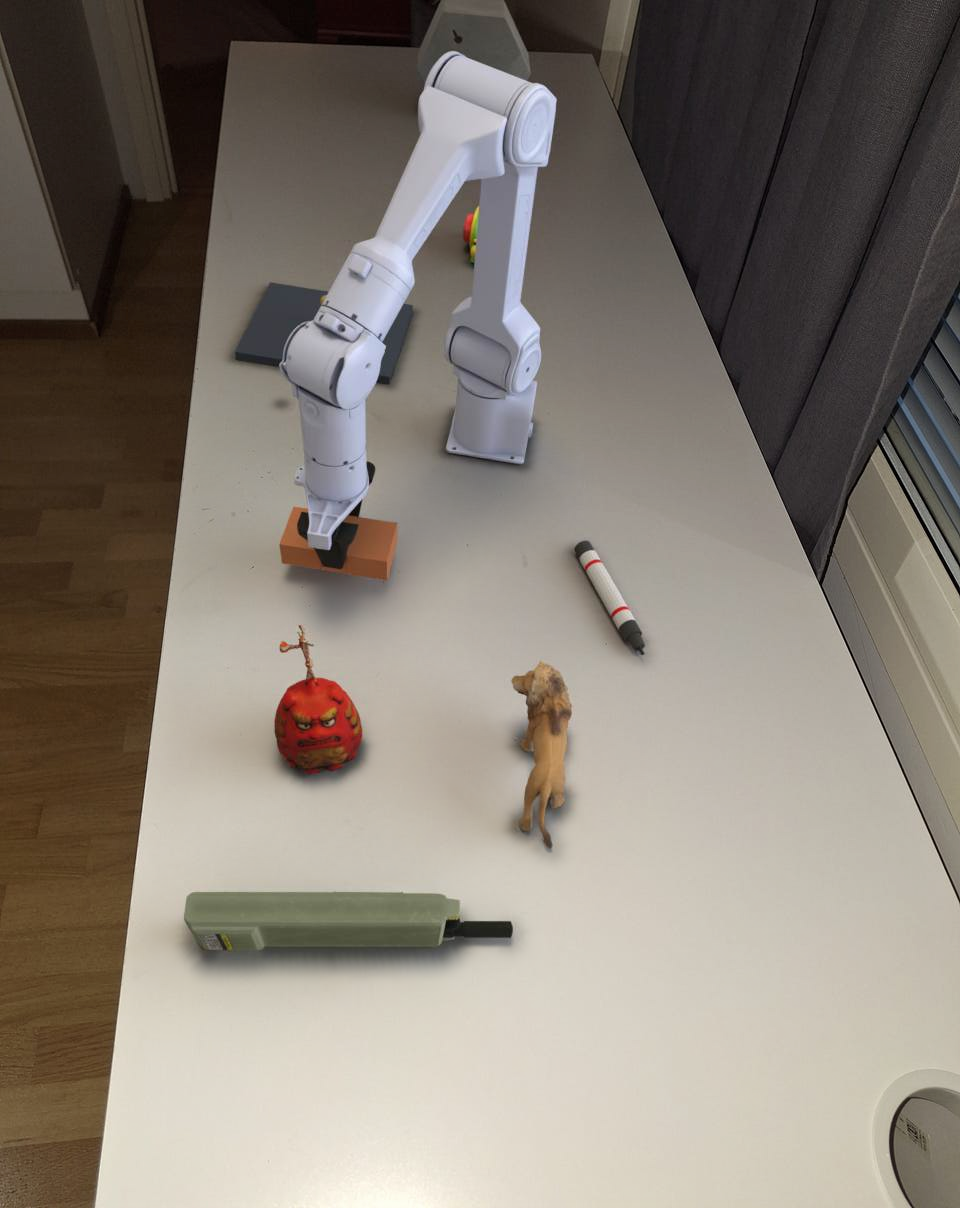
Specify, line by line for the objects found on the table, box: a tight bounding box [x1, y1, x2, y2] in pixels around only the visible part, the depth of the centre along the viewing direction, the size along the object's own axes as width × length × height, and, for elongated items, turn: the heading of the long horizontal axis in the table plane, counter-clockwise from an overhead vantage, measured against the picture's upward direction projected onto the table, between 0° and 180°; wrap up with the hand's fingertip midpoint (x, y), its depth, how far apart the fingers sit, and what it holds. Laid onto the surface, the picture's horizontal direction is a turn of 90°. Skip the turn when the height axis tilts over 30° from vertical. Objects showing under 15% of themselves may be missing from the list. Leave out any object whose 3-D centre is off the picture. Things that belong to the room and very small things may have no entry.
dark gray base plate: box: [234, 282, 414, 385], centre depth 118 cm, size 20×16×6 cm
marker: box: [573, 540, 646, 656], centre depth 95 cm, size 15×2×2 cm, turn 21°
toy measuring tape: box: [462, 205, 479, 264], centre depth 136 cm, size 6×19×7 cm, turn 166°
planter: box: [416, 0, 532, 85], centre depth 156 cm, size 17×8×21 cm
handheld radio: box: [183, 891, 514, 951], centre depth 70 cm, size 7×3×25 cm
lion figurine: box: [510, 660, 573, 849], centre depth 80 cm, size 15×5×9 cm, turn 6°
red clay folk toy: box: [273, 624, 363, 776], centre depth 77 cm, size 8×7×15 cm
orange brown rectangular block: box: [279, 506, 398, 581], centre depth 93 cm, size 11×5×3 cm, turn 82°
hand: (340, 543), depth 93 cm, fingers closed on orange brown rectangular block, 5 cm apart
